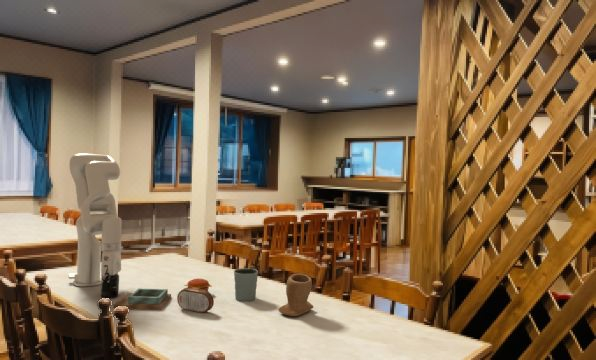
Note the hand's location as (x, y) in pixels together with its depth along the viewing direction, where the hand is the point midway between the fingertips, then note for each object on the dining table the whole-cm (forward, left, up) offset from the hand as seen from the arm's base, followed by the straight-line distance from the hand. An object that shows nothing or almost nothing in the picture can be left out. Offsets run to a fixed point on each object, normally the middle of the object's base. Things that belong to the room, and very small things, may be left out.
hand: (110, 288), depth 179 cm
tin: (+38, -15, -3) cm, 41 cm away
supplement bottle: (0, 0, -3) cm, 3 cm away
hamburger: (+35, +7, -3) cm, 36 cm away
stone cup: (+78, -14, -3) cm, 79 cm away
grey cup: (+56, +2, -3) cm, 56 cm away
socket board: (+16, -7, -3) cm, 18 cm away
